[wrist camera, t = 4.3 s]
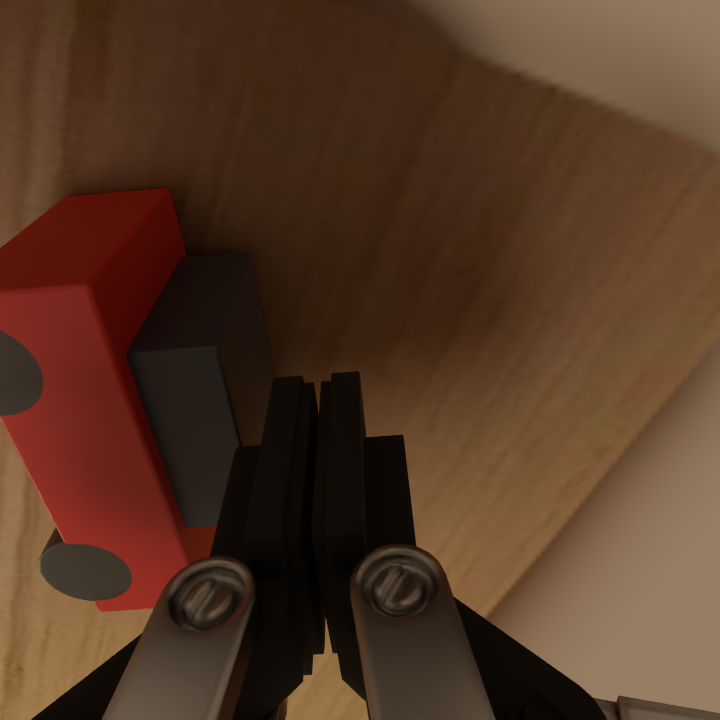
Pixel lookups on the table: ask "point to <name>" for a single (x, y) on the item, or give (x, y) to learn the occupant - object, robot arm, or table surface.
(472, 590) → the table surface
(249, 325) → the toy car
